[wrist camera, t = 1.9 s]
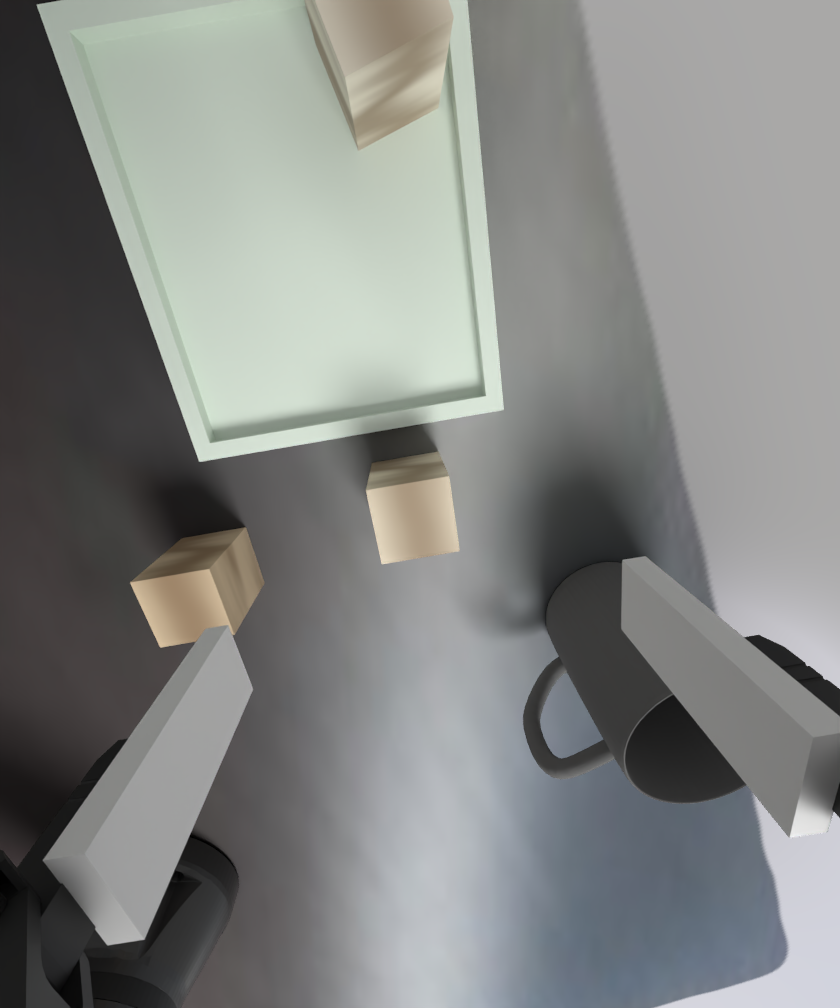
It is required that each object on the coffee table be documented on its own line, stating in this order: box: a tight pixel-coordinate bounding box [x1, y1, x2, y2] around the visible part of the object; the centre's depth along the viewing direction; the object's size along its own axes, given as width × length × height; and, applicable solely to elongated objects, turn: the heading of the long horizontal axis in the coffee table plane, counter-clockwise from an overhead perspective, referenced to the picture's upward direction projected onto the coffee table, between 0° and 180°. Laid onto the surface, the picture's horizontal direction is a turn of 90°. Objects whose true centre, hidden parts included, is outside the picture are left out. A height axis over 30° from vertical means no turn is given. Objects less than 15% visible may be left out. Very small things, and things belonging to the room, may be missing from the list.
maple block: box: [304, 0, 454, 151], centre depth 18 cm, size 4×4×6 cm
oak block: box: [130, 527, 264, 647], centre depth 27 cm, size 4×4×6 cm
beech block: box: [366, 452, 460, 564], centre depth 26 cm, size 4×4×6 cm
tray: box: [37, 0, 504, 462], centre depth 22 cm, size 19×21×2 cm
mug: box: [523, 562, 746, 804], centre depth 27 cm, size 14×9×12 cm
